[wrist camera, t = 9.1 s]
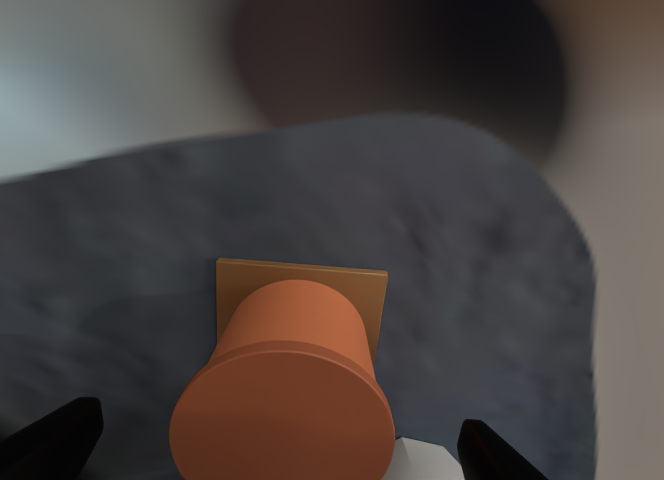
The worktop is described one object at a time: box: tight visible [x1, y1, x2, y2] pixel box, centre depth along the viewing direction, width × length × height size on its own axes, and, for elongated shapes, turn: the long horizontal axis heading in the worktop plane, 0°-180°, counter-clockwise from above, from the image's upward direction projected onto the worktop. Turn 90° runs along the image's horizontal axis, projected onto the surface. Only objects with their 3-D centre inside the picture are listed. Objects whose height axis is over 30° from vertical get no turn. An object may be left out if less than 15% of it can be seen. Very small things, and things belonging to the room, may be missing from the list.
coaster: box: [216, 258, 388, 368], centre depth 11 cm, size 6×6×1 cm
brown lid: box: [169, 280, 395, 480], centre depth 9 cm, size 5×5×4 cm
